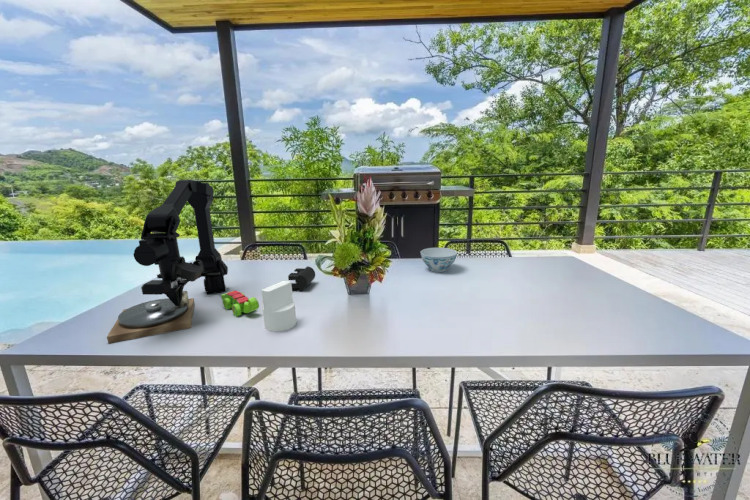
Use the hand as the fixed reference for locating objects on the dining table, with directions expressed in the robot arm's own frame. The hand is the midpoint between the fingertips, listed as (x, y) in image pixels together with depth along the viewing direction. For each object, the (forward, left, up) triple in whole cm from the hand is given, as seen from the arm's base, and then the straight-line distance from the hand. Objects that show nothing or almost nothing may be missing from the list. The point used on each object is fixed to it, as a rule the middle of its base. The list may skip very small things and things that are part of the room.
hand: (177, 305), depth 105 cm
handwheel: (+7, -4, -3) cm, 8 cm away
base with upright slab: (-27, +16, -5) cm, 32 cm away
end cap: (-40, -12, -6) cm, 42 cm away
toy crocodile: (-17, -1, -6) cm, 18 cm away
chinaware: (-96, -5, -5) cm, 96 cm away
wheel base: (+7, -4, -5) cm, 9 cm away
